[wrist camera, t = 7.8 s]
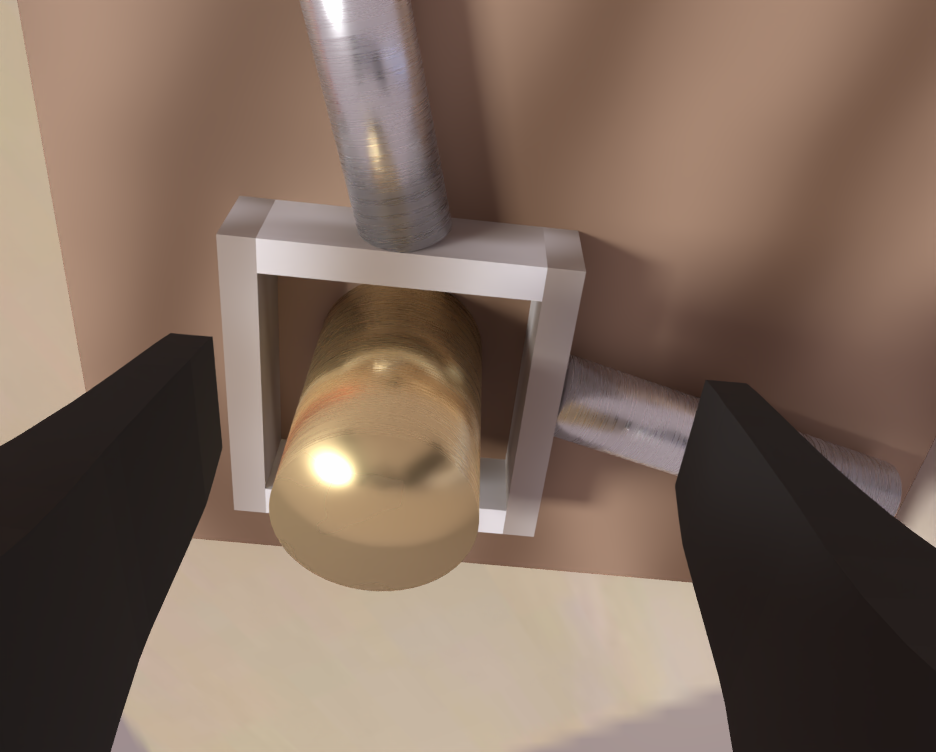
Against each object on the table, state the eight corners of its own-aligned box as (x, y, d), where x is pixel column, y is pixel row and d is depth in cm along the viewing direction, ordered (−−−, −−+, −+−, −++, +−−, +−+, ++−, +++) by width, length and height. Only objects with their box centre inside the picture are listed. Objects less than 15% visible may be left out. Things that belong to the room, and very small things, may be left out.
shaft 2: (882, 445, 23) (913, 497, 21) (838, 498, 24) (864, 551, 22) (568, 338, 21) (575, 384, 20) (536, 400, 22) (539, 449, 21)
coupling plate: (1201, -203, 16) (1355, -199, 13) (838, 559, 27) (879, 651, 25) (-4, -353, 15) (-118, -383, 13) (128, 496, 27) (83, 583, 24)
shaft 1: (263, -200, 15) (236, -198, 14) (375, -223, 15) (361, -223, 13) (366, 220, 20) (354, 259, 18) (454, 207, 20) (450, 246, 18)
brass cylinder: (495, 291, 21) (496, 453, 16) (467, 424, 23) (460, 602, 18) (326, 265, 20) (273, 420, 15) (314, 401, 23) (264, 577, 18)
